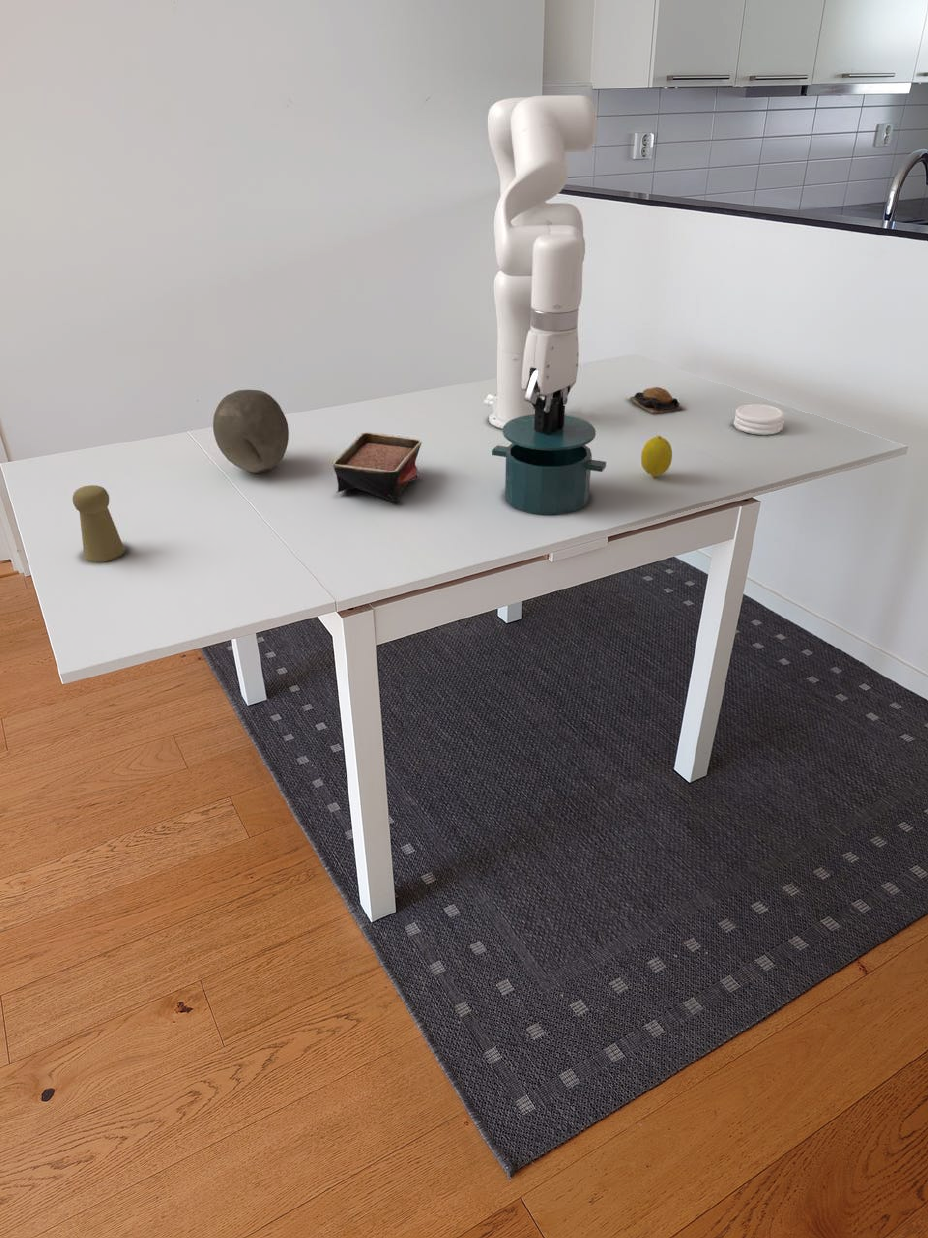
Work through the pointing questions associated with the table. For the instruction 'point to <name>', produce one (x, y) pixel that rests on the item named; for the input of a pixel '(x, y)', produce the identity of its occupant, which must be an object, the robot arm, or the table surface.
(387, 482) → the square planter
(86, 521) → the cork
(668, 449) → the lemon
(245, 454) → the grey river stone
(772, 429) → the white round flat cylinder
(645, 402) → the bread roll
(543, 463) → the pot
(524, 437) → the pot lid
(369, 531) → the table surface
